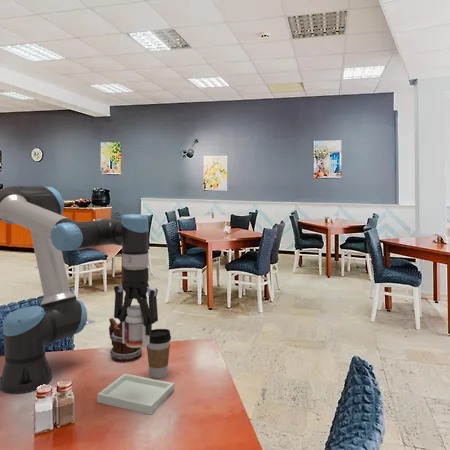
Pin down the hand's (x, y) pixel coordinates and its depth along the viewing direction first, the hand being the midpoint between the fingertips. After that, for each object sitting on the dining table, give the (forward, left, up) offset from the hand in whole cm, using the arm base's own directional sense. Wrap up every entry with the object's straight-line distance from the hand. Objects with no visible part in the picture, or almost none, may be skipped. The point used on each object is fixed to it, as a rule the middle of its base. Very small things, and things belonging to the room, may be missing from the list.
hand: (135, 343), depth 120 cm
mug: (-21, +24, -17) cm, 36 cm away
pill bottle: (0, 0, -1) cm, 1 cm away
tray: (0, 0, -17) cm, 17 cm away
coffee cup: (-1, +15, -17) cm, 23 cm away
